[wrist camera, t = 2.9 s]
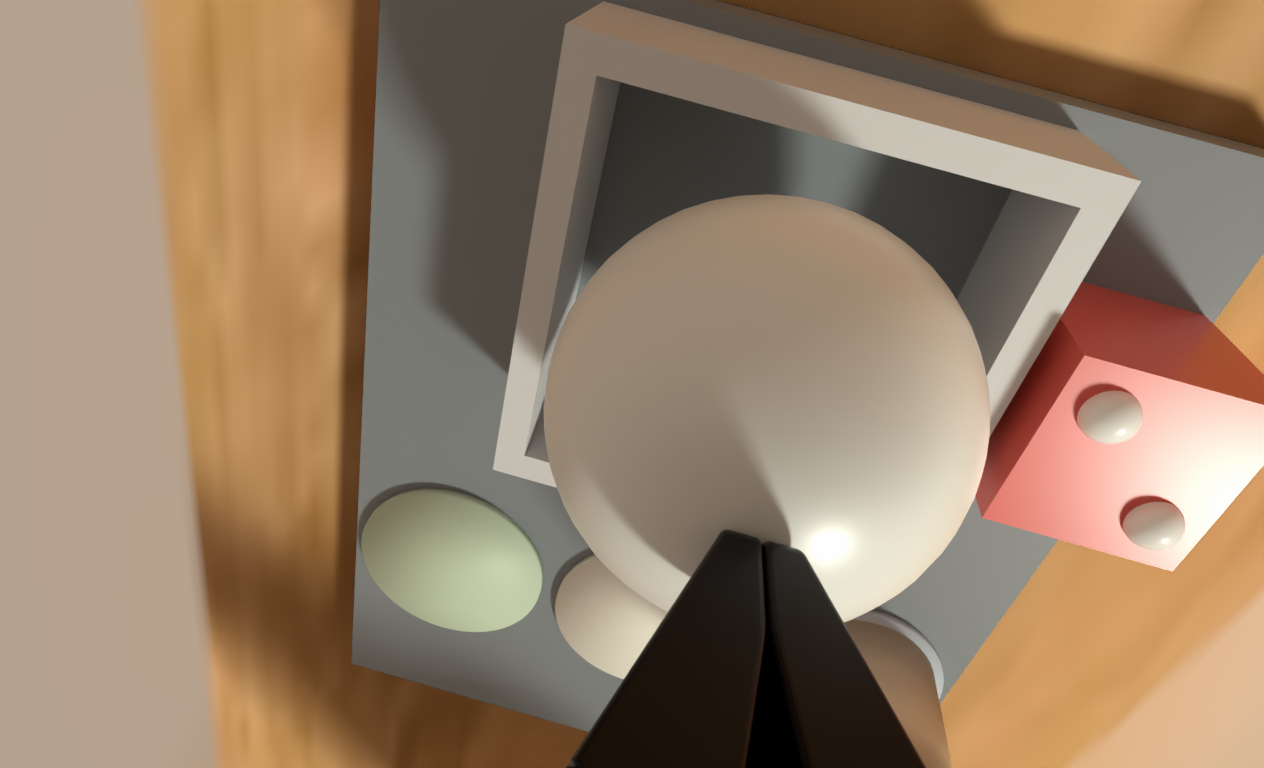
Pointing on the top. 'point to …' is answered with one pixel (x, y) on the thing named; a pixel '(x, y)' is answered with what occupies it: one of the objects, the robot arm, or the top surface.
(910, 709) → the pawn
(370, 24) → the top surface
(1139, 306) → the red die
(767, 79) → the game board
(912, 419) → the white ball
